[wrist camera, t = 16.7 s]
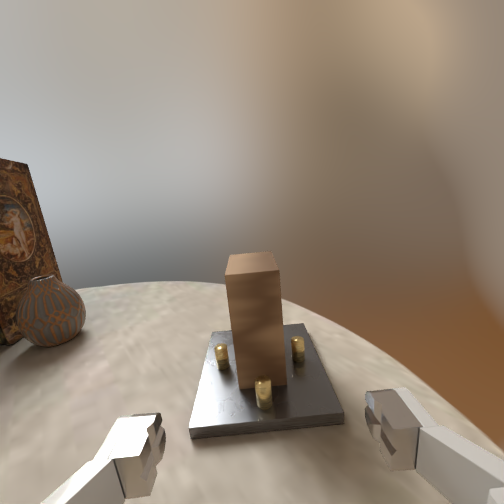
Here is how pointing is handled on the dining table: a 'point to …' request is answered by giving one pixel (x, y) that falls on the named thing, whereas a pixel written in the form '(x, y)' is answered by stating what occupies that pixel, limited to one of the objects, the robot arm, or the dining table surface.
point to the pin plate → (263, 391)
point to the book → (20, 244)
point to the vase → (50, 312)
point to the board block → (256, 318)
